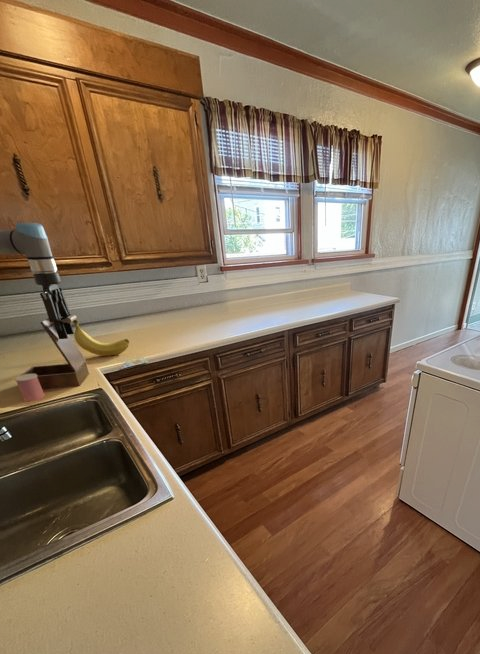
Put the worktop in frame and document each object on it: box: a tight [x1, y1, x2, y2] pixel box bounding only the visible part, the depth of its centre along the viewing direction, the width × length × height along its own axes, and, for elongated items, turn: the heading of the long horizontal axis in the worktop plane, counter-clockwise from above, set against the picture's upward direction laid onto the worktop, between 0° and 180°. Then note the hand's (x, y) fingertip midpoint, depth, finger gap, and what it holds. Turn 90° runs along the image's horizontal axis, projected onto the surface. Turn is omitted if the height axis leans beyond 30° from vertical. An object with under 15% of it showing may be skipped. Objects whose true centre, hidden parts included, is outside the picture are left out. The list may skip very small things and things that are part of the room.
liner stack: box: [14, 374, 45, 402], centre depth 118 cm, size 6×6×9 cm
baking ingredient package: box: [119, 357, 149, 370], centre depth 152 cm, size 9×1×15 cm
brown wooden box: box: [21, 361, 90, 391], centre depth 131 cm, size 20×13×6 cm, turn 105°
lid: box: [39, 314, 87, 372], centre depth 127 cm, size 20×13×8 cm
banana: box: [71, 318, 130, 357], centre depth 160 cm, size 23×6×20 cm, turn 111°
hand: (66, 336), depth 126 cm, fingers closed on lid, 6 cm apart
